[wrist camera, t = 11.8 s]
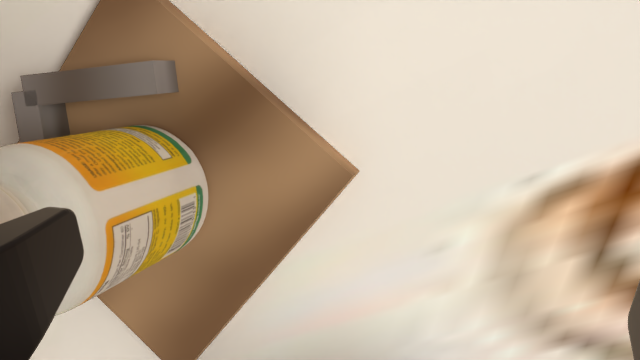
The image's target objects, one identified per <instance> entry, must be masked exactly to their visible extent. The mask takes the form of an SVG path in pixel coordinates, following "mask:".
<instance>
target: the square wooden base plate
mask: <svg viewBox="0 0 640 360" xmlns="http://www.w3.org/2000/svg"><path fill="white" fill-rule="evenodd" d="M21 81H22V87H23V91H22V92H12V93H11V94H12V99H13V105H14V110H15V116H16V121H17V127H18V132H19V138H20V139H19V141H18V143H23V142H29V141H35V140H43V139H50V138H56V137H63V136H69V135H76V134H82V133H88V132H95V131H101V130H107V129H114V128H120V127H127V126H134V125H148V126H153V127H157V128H160V129H163V130H165V131H167V132H169V133H171V134H172V135H174V136H175V137H177V138H178V139H180V140H181V141H182V142H183V143H184V144H186V145H187V146H188V147H189V148H190V149H191V150H192V152H193V153H194V154H195V156H196V157H197V159H198V161H199V163H200V165H201V166H202V169H203V171H204V174H205V177H206V181H207V186H208V208H207V213H206V217H205V220H204V222H203V224H202V227H201V228H200V230H199V232H198V233H197V234H196V236H195V237H194V238H193V239H192V240H191V241H190V242H189V243H188V244H187V245H186V246H184V247H183V248H181V249H180V250H178V251H176V252H175V253H173V254H171V255H170V256H168V257H166V258H164V259H162V260H160V261H159V262H157V263H155V264H153V265H151V266H150V267H148V268H146V269H144V270H142V271H141V272H139V273H137V274H135V275H133V276H132V277H130V278H128V279H126V280H124V281H123V282H121V283H119V284H117V285H115V286H114V287H112V288H110V289H108V290H106V291H105V292H103V293H101V294H99V295H97V297H98V298H99V299H100V300H101V301H102V302H103V303H104V304H105V305H106V306H107V307H108V308H109V309H110V310H111V311H112V312H114V313H115V314H116V315H117V316H118V317H119V318H120V319H121V320H122V321H123V322H124V323H125V324H126V325H127V326H128V327H129V328H130V329H131V330H132V331H133V332H134V333H135V334H136V335H137V336H138V337H139V338H140V339H141V340H142V341H143V342H144V343H145V344H146V345H147V346H148V347H149V348H150V349H151V350H152V351H153V352H154V353H155V354H156V355H157V356H158V357H159V358H160V359H161V360H197V358H198V357H199V356H200V355H201V354H202V353H203V351H204V350H205V349H206V348H207V347H208V346H209V345H210V343H211V342H212V341H213V340H214V339H215V338H216V336H217V335H218V334H219V333H220V332H221V331H222V329H223V328H224V327H225V326H226V325H227V324H228V323H229V321H230V320H231V319H232V318H233V317H234V316H235V314H236V313H237V312H238V311H239V310H240V309H241V308H242V306H243V305H244V304H245V303H246V302H247V301H248V299H249V298H250V297H251V296H252V295H253V294H254V293H255V291H256V290H257V289H258V288H259V287H260V286H261V284H262V283H263V282H264V281H265V280H266V279H267V277H268V276H269V275H270V274H271V273H272V272H273V271H274V269H275V268H276V267H277V266H278V265H279V264H280V262H281V261H282V260H283V259H284V258H285V257H286V256H287V254H288V253H289V252H290V251H291V250H292V249H293V247H294V246H295V245H296V244H297V243H298V242H299V240H300V239H301V238H302V237H303V236H304V235H305V234H306V232H307V231H308V230H309V229H310V228H311V227H312V225H313V224H314V223H315V222H316V221H317V220H318V219H319V217H320V216H321V215H322V214H323V213H324V212H325V210H326V209H327V208H328V207H329V206H330V205H331V204H332V202H333V201H334V200H335V199H336V198H337V197H338V195H339V194H340V193H341V192H342V191H343V190H344V188H345V187H346V186H347V185H348V184H349V183H350V182H351V180H352V179H353V178H354V177H355V176H356V175H357V173H358V172H359V170H358V169H357V168H356V167H355V166H353V165H352V164H351V163H350V162H349V161H348V160H347V159H346V158H344V157H343V156H342V155H341V154H340V153H339V152H338V151H337V150H336V149H334V148H333V147H332V146H331V145H330V144H329V143H328V142H327V141H325V140H324V139H323V138H322V137H321V136H320V135H319V134H318V133H317V132H315V131H314V130H313V129H312V128H311V127H310V126H309V125H308V124H306V123H305V122H304V121H303V120H302V119H301V118H300V117H299V116H297V115H296V114H295V113H294V112H293V111H292V110H291V109H290V108H289V107H287V106H286V105H285V104H284V103H283V102H282V101H281V100H280V99H278V98H277V97H276V96H275V95H274V94H273V93H272V92H271V91H270V90H268V89H267V88H266V87H265V86H264V85H263V84H262V83H261V82H259V81H258V80H257V79H256V78H255V77H254V76H253V75H252V74H251V73H249V72H248V71H247V70H246V69H245V68H244V67H243V66H242V65H240V64H239V63H238V62H237V61H236V60H235V59H234V58H233V57H231V56H230V55H229V54H228V53H227V52H226V51H225V50H224V49H223V48H221V47H220V46H219V45H218V44H217V43H216V42H215V41H214V40H212V39H211V38H210V37H209V36H208V35H207V34H206V33H205V32H204V31H202V30H201V29H200V28H199V27H198V26H197V25H196V24H195V23H193V22H192V21H191V20H190V19H189V18H188V17H187V16H186V15H184V14H183V13H182V12H181V11H180V10H179V9H178V8H177V7H176V6H174V5H173V4H172V3H171V2H170V1H169V0H100V2H99V4H98V5H97V7H96V9H95V10H94V12H93V14H92V16H91V17H90V19H89V21H88V22H87V24H86V26H85V28H84V29H83V31H82V33H81V35H80V36H79V38H78V40H77V41H76V43H75V45H74V47H73V48H72V50H71V52H70V53H69V55H68V57H67V59H66V60H65V62H64V64H63V66H62V67H61V69H60V71H58V72H50V73H41V74H33V75H24V76H21Z"/></svg>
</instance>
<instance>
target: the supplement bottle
mask: <svg viewBox="0 0 640 360" xmlns="http://www.w3.org/2000/svg"><path fill="white" fill-rule="evenodd" d="M45 207H59V208H68V209H71V210H72V211H73V212H74V213H75V215H76V218H77V222H78V226H79V230H80V234H81V239H82V243H83V247H84V257H83V261H82V264H81V266H80V268H79V270H78V272H77V274H76V275H75V277H74V279H73V281H72V283H71V285H70V287H69V289H68V291H67V293H66V295H65V297H64V299H63V301H62V303H61V305H60V306H59V308H58V310H57V312H56V314H55V316H56V315H59V314H62V313H65V312H67V311H69V310H71V309H73V308H75V307H77V306H79V305H81V304H83V303H85V302H86V301H88V300H90V299H92V298H94V297H96V296H97V295H99V294H101V293H103V292H105V291H106V290H108V289H110V288H112V287H114V286H115V285H117V284H119V283H121V282H123V281H124V280H126V279H128V278H130V277H132V276H133V275H135V274H137V273H139V272H141V271H142V270H144V269H146V268H148V267H150V266H151V265H153V264H155V263H157V262H159V261H160V260H162V259H164V258H166V257H168V256H170V255H171V254H173V253H175V252H176V251H178V250H180V249H181V248H183V247H184V246H186V245H187V244H188V243H189V242H190V241H191V240H192V239H193V238H194V237H195V236H196V234H197V233H198V232H199V230H200V228H201V227H202V224H203V222H204V220H205V217H206V213H207V208H208V186H207V181H206V177H205V174H204V171H203V169H202V166H201V165H200V163H199V161H198V159H197V157H196V156H195V154H194V153H193V152H192V150H191V149H190V148H189V147H188V146H187V145H186V144H184V143H183V142H182V141H181V140H180V139H178V138H177V137H175V136H174V135H172V134H171V133H169V132H167V131H165V130H163V129H160V128H157V127H153V126H148V125H134V126H127V127H120V128H114V129H107V130H101V131H95V132H88V133H82V134H76V135H69V136H63V137H56V138H50V139H43V140H35V141H29V142H23V143H17V144H10V145H6V146H1V147H0V224H1V223H4V222H7V221H10V220H12V219H15V218H18V217H21V216H23V215H26V214H29V213H31V212H34V211H37V210H40V209H42V208H45Z"/></svg>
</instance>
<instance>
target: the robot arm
mask: <svg viewBox="0 0 640 360" xmlns="http://www.w3.org/2000/svg"><path fill="white" fill-rule="evenodd" d="M83 257H84V247H83V243H82V239H81V234H80V230H79V226H78V222H77V218H76V215H75V213H74V212H73V211H72V210H71V209H68V208H59V207H45V208H42V209H40V210H37V211H34V212H31V213H29V214H26V215H23V216H21V217H18V218H15V219H12V220H10V221H7V222H4V223H1V224H0V360H29V359H30V357H31V356H32V354H33V353H34V351H35V350H36V348H37V346H38V345H39V343H40V341H41V340H42V338H43V337H44V335H45V333H46V331H47V329H48V328H49V326H50V324H51V322H52V320H53V318H54V316H55V314H56V312H57V310H58V308H59V306H60V305H61V303H62V301H63V299H64V297H65V295H66V293H67V291H68V289H69V287H70V285H71V283H72V281H73V279H74V277H75V275H76V274H77V272H78V270H79V268H80V266H81V264H82V261H83ZM628 330H629V335H630V341H631V346H632V351H633V357H634V360H640V281H639V284H638V287H637V290H636V293H635V296H634V299H633V302H632V305H631V308H630V311H629V316H628Z"/></svg>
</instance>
